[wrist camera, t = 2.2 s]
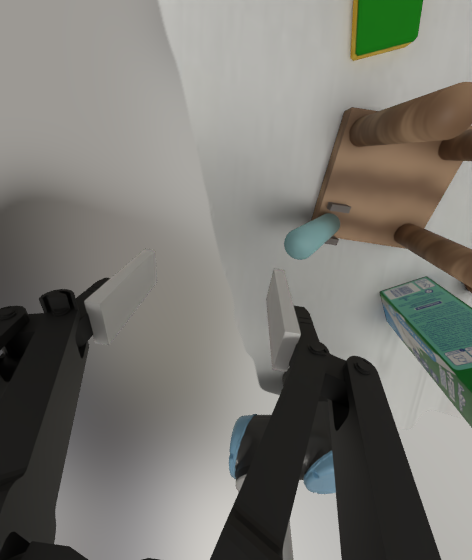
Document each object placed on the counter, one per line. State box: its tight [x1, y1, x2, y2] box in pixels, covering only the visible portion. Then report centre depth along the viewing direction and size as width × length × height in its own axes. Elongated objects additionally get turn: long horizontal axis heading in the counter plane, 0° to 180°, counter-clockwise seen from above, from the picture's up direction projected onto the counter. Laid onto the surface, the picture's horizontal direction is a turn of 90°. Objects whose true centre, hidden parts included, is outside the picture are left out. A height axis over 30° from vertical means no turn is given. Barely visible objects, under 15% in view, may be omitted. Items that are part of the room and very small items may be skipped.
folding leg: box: [284, 213, 340, 260], centre depth 30 cm, size 4×4×14 cm
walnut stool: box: [311, 82, 472, 288], centre depth 29 cm, size 19×18×19 cm
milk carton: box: [380, 277, 472, 427], centre depth 37 cm, size 9×9×25 cm
